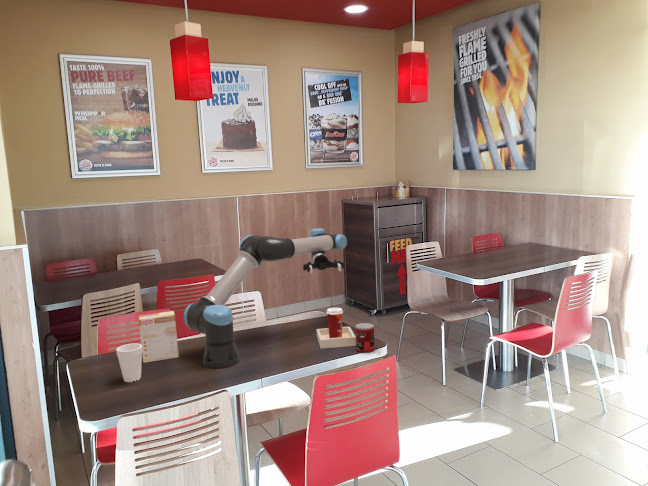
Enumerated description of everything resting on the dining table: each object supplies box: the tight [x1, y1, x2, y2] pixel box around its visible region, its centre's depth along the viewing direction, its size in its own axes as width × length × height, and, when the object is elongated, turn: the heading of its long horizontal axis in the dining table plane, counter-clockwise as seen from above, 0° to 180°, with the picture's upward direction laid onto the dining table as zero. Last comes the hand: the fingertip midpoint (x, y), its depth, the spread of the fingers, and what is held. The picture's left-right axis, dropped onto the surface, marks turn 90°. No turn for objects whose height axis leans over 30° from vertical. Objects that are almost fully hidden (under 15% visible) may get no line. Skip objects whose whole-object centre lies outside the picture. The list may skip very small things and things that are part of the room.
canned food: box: [355, 322, 375, 354], centre depth 230 cm, size 8×8×11 cm
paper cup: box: [326, 307, 344, 338], centre depth 242 cm, size 8×8×14 cm
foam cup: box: [115, 342, 143, 383], centre depth 208 cm, size 10×9×13 cm
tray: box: [315, 326, 356, 350], centre depth 243 cm, size 16×16×4 cm
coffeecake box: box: [138, 310, 180, 363], centre depth 230 cm, size 15×7×20 cm, turn 110°
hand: (326, 269), depth 247 cm, fingers open, 13 cm apart
